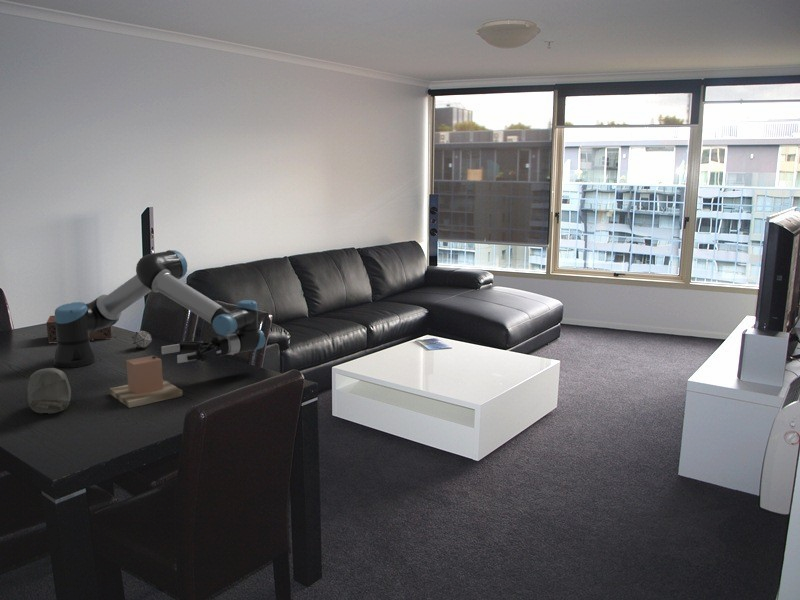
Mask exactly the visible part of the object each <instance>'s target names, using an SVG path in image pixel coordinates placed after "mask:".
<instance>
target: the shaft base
mask: <svg viewBox="0 0 800 600" xmlns="http://www.w3.org/2000/svg"><path fill="white" fill-rule="evenodd" d="M109 394H110V395H111V396H112V397H114V398H115V399H116V400H118V401H119V402H120V403H122V404H123V405H124V406H126V407H127V408H128V409H129V408H130V409H131V408H134V407H140V406H144V405H148V404H153V403H156V402H157V403H158V402H161V401H167V400H170V399H175V398H179V397H183V389H181V388H179V387H177V386H176V385H174V384H172V383H171V382H169V381H168V380H166V379H164V378H163V389H161V390H156V391H151V392H147V393H142V394H137V395H135V394H134V393H132V392H131V391H130V390H128V384H124V385H119V386H115V387H109Z"/></svg>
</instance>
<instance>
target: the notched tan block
mask: <svg viewBox="0 0 800 600" xmlns="http://www.w3.org/2000/svg"><path fill="white" fill-rule="evenodd" d="M162 363H163V361H162V359H161V358H159V357H158V356H156V355H154V354H153V355H149V356H141V357H138V358H132V359H126V372H127V373H126V374H127V375H126V376H127V385H128V390H130V391H131V392H132V393H134V394H135V395H137V394H142V393H147V392H151V391H156V390H161V389H163V379H164V378H163V364H162Z"/></svg>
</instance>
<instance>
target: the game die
mask: <svg viewBox="0 0 800 600" xmlns="http://www.w3.org/2000/svg"><path fill="white" fill-rule="evenodd" d="M149 332H150V330H147V331H145V330H143V329H142V328H140V331H135V333H136V334H135V335H134V336H131V338H132V339H133V343H132V344H133V345H135V346H136V349H137V348H141V349H143V350H145V348H146V347H147V348H149V347H150V345H151V343H154V342H155V340H153V339H152V336H153V334H150V333H149Z"/></svg>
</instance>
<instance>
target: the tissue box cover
mask: <svg viewBox="0 0 800 600" xmlns="http://www.w3.org/2000/svg"><path fill="white" fill-rule="evenodd" d="M54 318H55V315H49V317H48V319H47V321H46V323H45V324H46V330H47V331H46V332H47V339H48V340H47V341H48V342H57V336H56V327H55V320H54ZM113 331H114V330H113V325H112V326H111V327H108V328H103V329H100V330H97V331H93V332H90V333H89V338H90V340H91V341H93V340H92V339H104V340H107V339H106V338H112V339H113V333H112V332H113Z"/></svg>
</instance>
